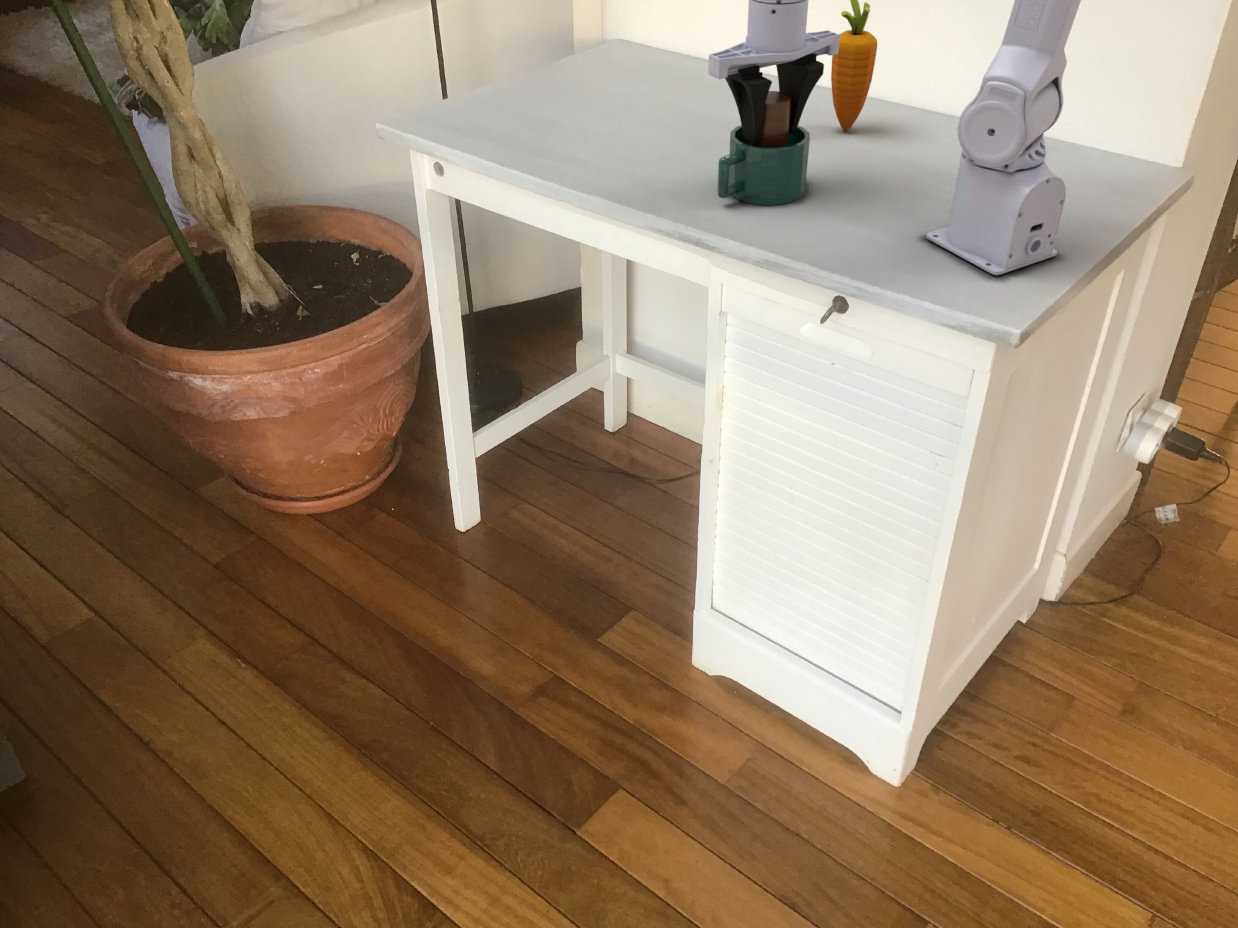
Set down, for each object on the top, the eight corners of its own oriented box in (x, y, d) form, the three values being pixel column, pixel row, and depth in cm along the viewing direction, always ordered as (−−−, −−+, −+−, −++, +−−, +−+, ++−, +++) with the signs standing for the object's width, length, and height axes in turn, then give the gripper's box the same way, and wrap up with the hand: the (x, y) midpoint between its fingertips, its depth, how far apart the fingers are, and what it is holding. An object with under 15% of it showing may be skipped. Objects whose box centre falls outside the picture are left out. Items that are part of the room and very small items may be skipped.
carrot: (866, 139, 121) (883, 5, 112) (823, 137, 122) (836, 4, 112) (866, 124, 125) (883, -7, 115) (825, 123, 125) (838, -8, 116)
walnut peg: (794, 156, 107) (799, 99, 104) (763, 164, 106) (766, 106, 102) (772, 144, 110) (776, 88, 106) (741, 152, 109) (744, 95, 105)
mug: (766, 168, 115) (769, 115, 111) (820, 190, 110) (826, 135, 106) (692, 196, 110) (693, 141, 106) (746, 220, 104) (749, 163, 101)
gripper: (813, -23, 104) (802, 111, 112) (692, -1, 98) (690, 138, 107) (858, -8, 99) (843, 130, 107) (733, 16, 94) (728, 159, 102)
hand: (769, 136), depth 107 cm, fingers closed on walnut peg, 4 cm apart
